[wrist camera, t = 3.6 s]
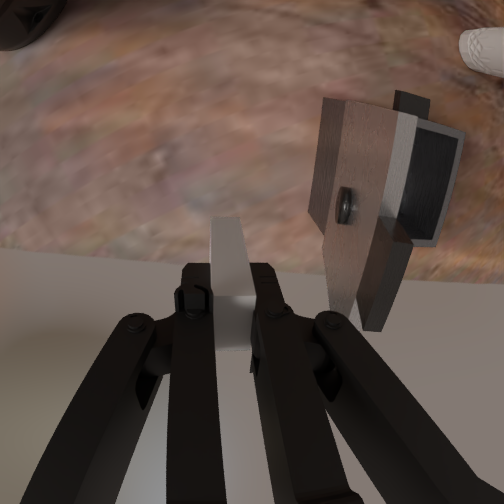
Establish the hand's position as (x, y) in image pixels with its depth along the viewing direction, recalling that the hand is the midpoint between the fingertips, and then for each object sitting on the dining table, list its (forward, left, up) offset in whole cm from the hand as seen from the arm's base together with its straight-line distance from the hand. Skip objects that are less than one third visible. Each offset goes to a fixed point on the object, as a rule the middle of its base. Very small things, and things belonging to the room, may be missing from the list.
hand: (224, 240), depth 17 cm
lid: (0, +10, -4) cm, 11 cm away
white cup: (-21, +35, -22) cm, 47 cm away
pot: (0, +19, -22) cm, 29 cm away
